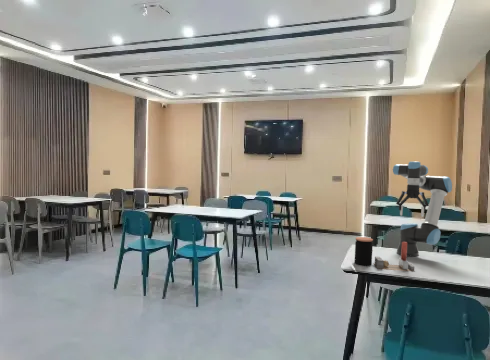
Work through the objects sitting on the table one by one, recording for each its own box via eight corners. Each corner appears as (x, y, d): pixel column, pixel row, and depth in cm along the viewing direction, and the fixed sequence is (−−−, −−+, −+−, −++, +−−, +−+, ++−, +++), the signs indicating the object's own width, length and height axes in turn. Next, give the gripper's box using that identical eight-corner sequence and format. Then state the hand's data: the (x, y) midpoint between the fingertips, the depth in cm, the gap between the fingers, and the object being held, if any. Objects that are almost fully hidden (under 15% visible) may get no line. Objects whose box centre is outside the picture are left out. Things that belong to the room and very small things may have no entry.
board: (373, 265, 238) (373, 255, 238) (408, 268, 236) (408, 258, 235) (377, 271, 226) (378, 260, 225) (414, 273, 223) (415, 263, 222)
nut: (381, 265, 233) (381, 259, 233) (387, 266, 233) (388, 259, 233) (382, 267, 229) (383, 261, 229) (389, 267, 229) (389, 261, 229)
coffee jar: (373, 265, 238) (374, 238, 238) (368, 269, 229) (370, 241, 229) (357, 262, 244) (358, 236, 244) (352, 266, 235) (353, 238, 235)
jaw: (398, 265, 234) (399, 240, 234) (403, 265, 234) (405, 241, 233) (402, 269, 225) (404, 243, 225) (408, 269, 225) (409, 243, 224)
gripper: (395, 184, 242) (393, 215, 243) (435, 185, 239) (433, 217, 240) (392, 183, 250) (390, 214, 250) (430, 185, 246) (429, 216, 247)
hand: (411, 215), depth 245 cm, fingers open, 13 cm apart
